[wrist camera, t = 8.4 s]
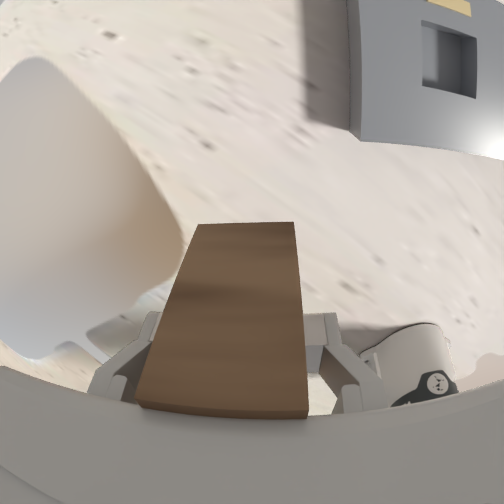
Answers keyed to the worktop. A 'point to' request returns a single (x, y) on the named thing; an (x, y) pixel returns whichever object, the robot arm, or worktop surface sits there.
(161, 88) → the worktop surface
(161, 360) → the plug block
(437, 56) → the block
